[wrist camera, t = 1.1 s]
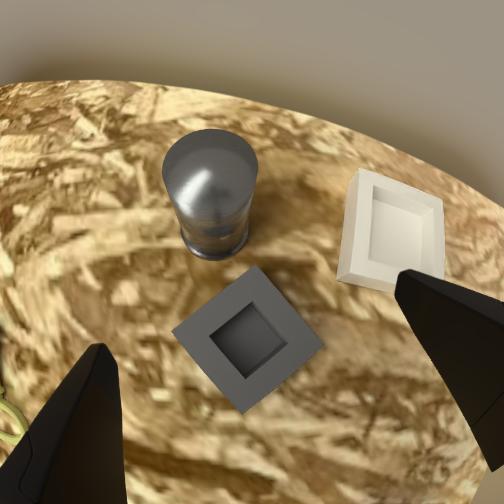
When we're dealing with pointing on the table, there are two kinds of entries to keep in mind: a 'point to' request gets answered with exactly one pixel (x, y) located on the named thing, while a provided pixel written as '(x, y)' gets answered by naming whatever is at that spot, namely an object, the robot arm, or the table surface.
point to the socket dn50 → (389, 232)
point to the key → (16, 415)
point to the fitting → (211, 190)
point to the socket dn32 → (248, 339)
